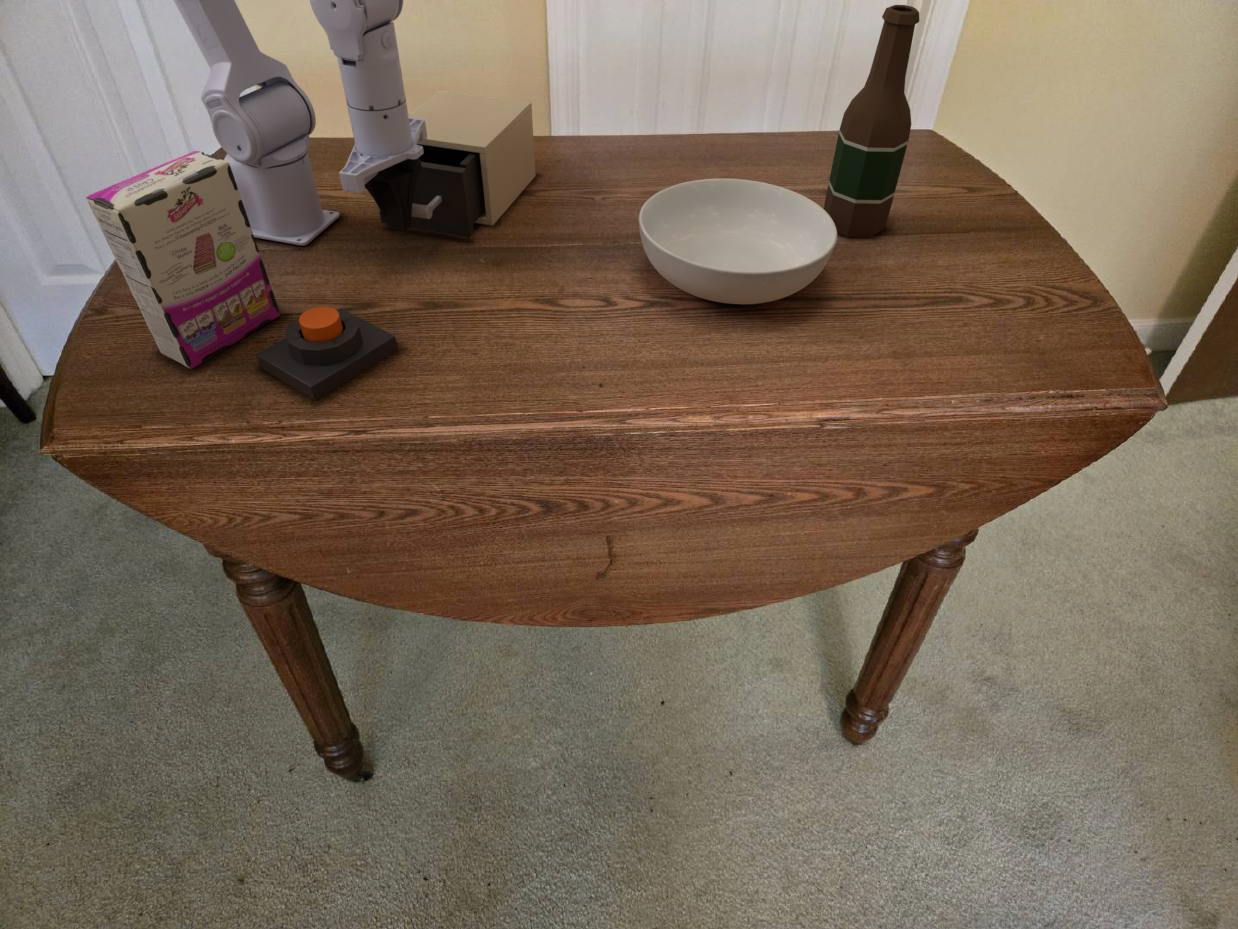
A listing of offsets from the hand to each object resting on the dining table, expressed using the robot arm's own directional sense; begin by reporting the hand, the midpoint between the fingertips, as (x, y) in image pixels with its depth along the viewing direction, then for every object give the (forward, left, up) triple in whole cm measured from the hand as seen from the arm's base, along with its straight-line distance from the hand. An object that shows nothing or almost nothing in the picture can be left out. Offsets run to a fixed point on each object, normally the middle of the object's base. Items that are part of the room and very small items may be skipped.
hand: (399, 227), depth 90 cm
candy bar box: (-10, -19, -4) cm, 22 cm away
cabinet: (0, +18, -4) cm, 18 cm away
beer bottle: (+48, +25, -4) cm, 54 cm away
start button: (+2, -19, -1) cm, 19 cm away
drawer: (0, +10, -3) cm, 10 cm away
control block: (+2, -19, -4) cm, 20 cm away
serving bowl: (+36, +8, -4) cm, 37 cm away
